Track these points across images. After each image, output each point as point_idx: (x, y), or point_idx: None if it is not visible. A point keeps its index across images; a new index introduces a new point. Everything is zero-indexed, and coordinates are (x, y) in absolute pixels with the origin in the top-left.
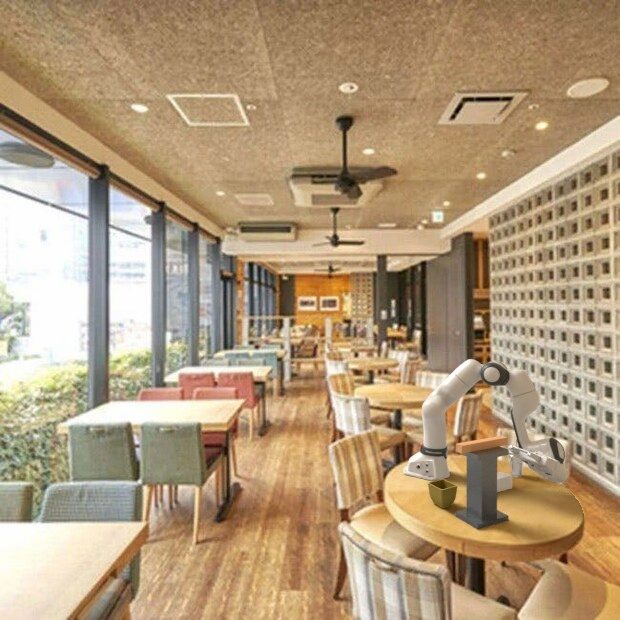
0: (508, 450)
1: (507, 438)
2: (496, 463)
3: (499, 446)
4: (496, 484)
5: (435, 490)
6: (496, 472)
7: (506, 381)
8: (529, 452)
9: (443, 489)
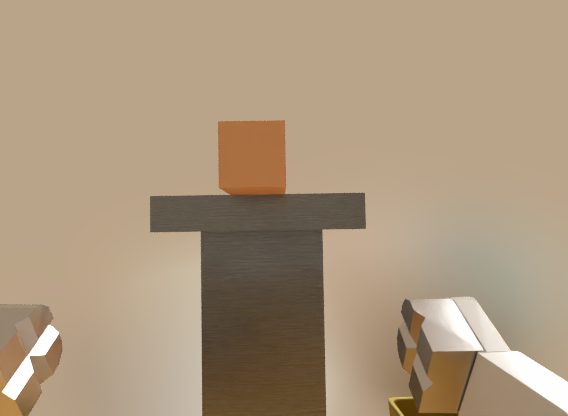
0: (151, 201)
1: (218, 130)
2: (202, 281)
3: (230, 195)
4: (203, 408)
5: (426, 413)
6: (203, 335)
7: None
8: (17, 306)
9: (390, 401)
